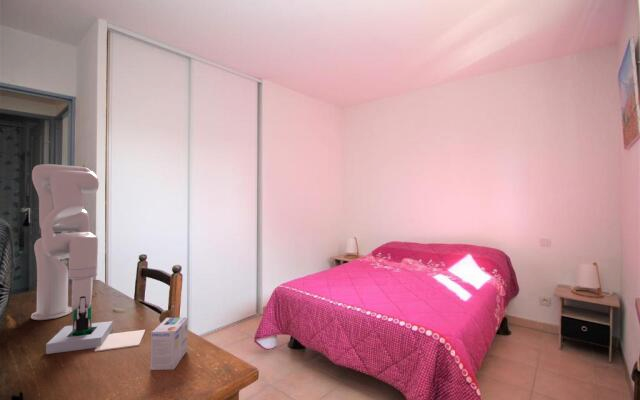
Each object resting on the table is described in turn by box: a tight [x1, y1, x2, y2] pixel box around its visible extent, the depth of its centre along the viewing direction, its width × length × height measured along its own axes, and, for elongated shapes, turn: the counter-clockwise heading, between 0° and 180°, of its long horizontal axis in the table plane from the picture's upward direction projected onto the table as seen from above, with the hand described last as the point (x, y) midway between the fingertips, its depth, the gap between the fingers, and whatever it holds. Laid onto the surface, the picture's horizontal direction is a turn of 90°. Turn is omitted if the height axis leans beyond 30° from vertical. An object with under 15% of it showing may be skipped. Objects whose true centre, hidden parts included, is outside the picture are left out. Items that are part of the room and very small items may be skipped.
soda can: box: [72, 302, 93, 336], centre depth 103 cm, size 5×5×12 cm
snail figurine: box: [158, 301, 177, 324], centre depth 104 cm, size 5×6×12 cm
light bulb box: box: [150, 316, 189, 371], centre depth 91 cm, size 11×7×11 cm, turn 5°
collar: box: [45, 320, 114, 355], centre depth 103 cm, size 14×14×3 cm
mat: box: [93, 329, 146, 353], centre depth 103 cm, size 12×12×1 cm
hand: (82, 326), depth 103 cm, fingers closed on soda can, 5 cm apart
